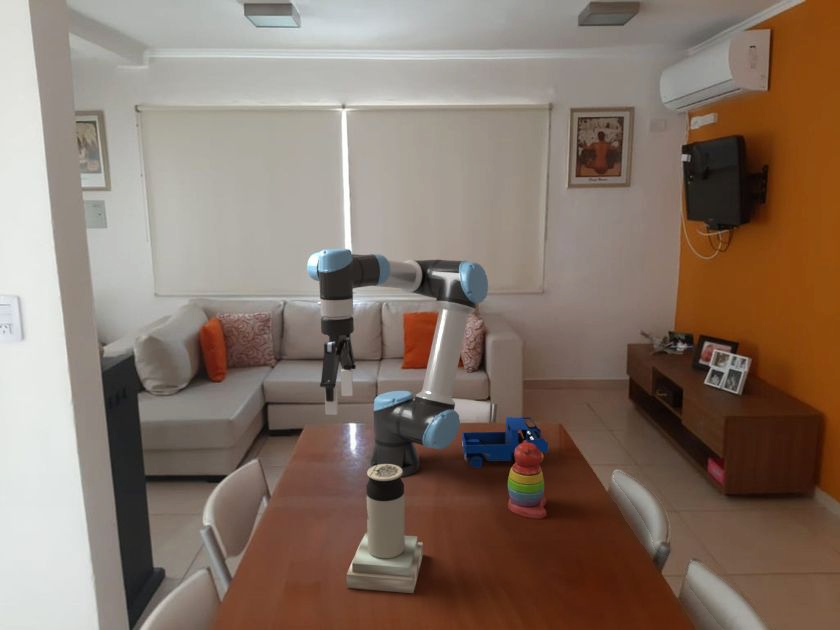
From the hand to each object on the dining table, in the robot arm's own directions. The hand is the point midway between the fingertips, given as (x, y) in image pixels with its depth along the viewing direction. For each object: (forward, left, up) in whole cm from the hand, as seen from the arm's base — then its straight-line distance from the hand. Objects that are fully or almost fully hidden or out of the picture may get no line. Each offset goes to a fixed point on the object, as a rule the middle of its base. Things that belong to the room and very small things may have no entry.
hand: (339, 404), depth 143 cm
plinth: (+16, +14, -32) cm, 38 cm away
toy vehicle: (-46, +39, -32) cm, 68 cm away
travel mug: (+16, +14, -27) cm, 34 cm away
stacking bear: (-16, +45, -32) cm, 57 cm away
